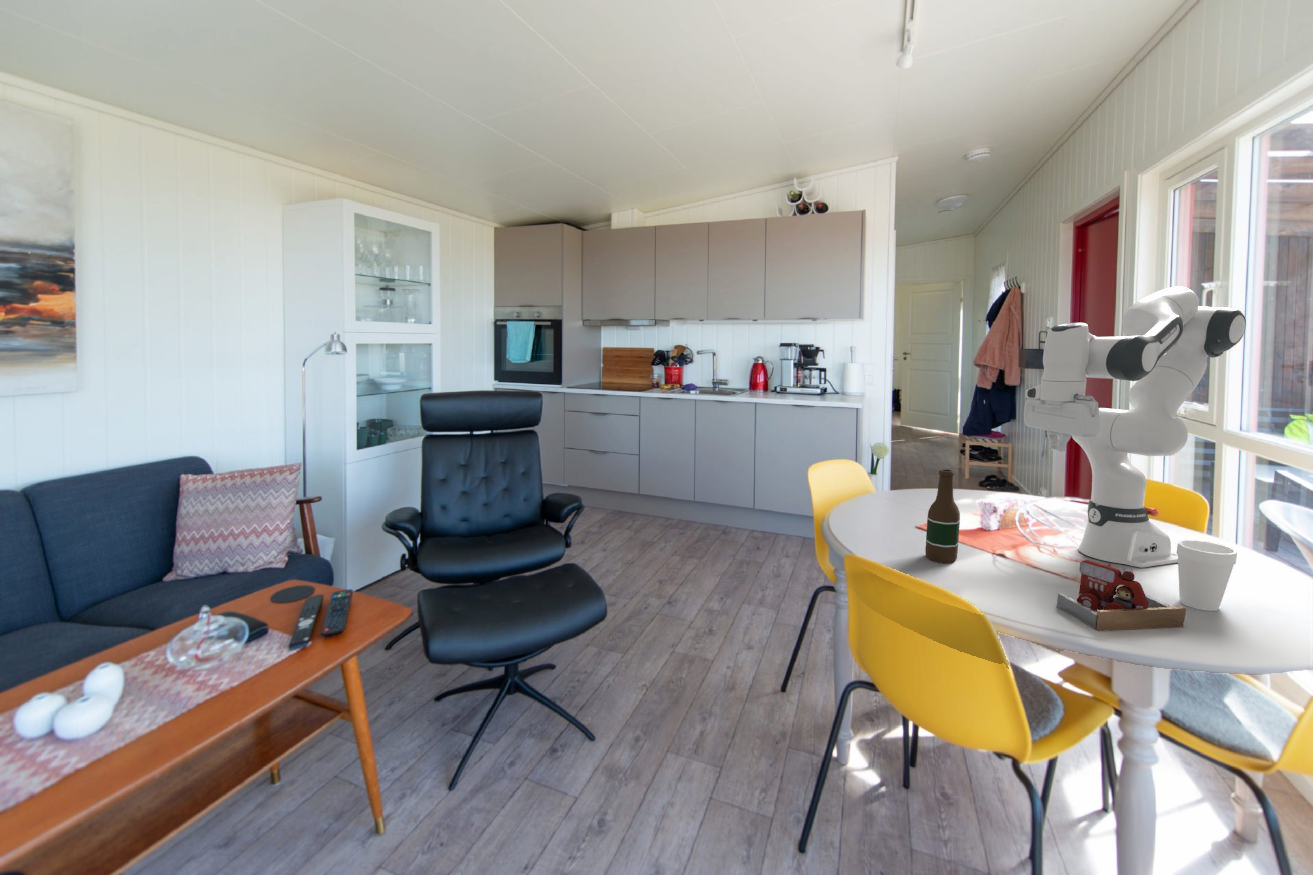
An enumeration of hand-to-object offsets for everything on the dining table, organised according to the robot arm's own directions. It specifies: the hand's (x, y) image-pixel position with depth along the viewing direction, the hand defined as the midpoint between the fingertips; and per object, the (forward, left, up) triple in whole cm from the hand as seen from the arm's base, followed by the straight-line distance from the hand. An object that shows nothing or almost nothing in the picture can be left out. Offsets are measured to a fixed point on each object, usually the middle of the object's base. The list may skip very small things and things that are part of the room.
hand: (1057, 450), depth 142 cm
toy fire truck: (+3, +23, -31) cm, 39 cm away
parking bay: (+2, +23, -31) cm, 39 cm away
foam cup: (-20, +20, -31) cm, 42 cm away
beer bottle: (+20, -12, -31) cm, 39 cm away
